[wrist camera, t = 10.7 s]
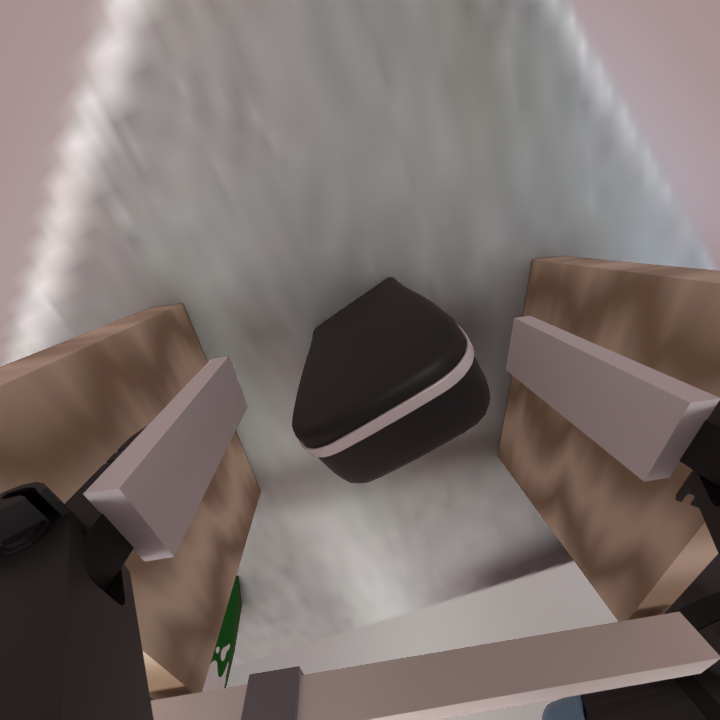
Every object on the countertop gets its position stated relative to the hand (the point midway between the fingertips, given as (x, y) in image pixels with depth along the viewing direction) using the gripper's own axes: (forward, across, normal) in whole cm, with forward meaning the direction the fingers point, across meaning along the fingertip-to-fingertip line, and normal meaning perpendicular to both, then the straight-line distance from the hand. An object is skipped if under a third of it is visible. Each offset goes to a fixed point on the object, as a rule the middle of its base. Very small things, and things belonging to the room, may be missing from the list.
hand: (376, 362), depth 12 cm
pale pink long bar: (-6, 0, -14) cm, 15 cm away
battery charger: (+7, 0, 0) cm, 7 cm away
